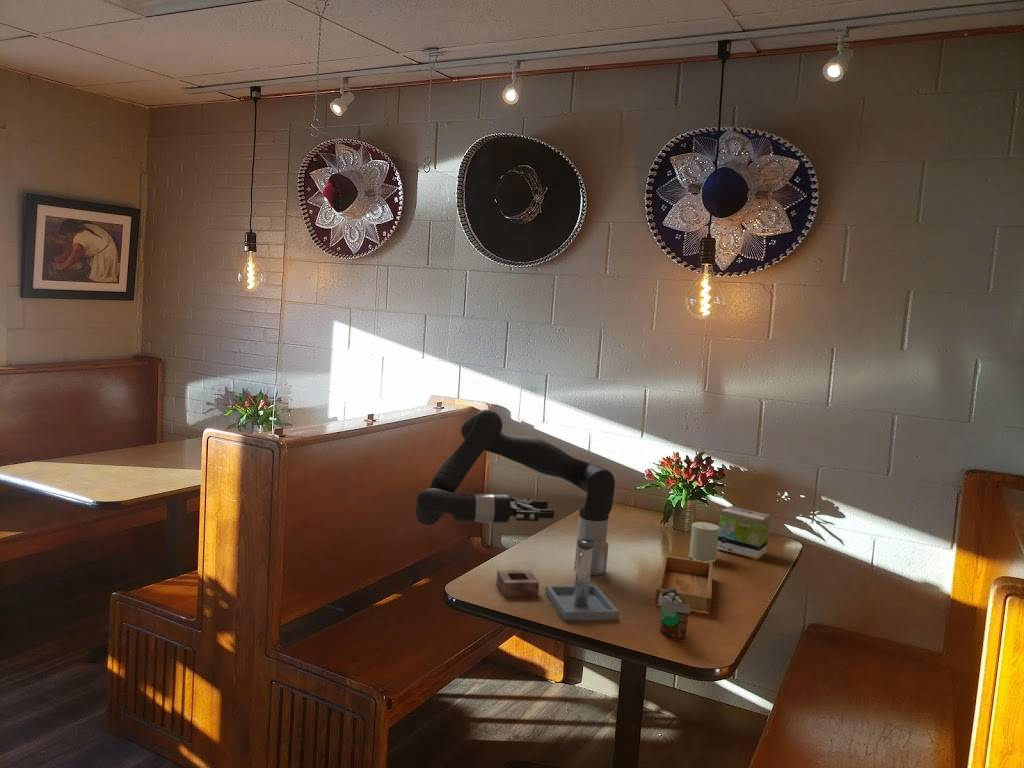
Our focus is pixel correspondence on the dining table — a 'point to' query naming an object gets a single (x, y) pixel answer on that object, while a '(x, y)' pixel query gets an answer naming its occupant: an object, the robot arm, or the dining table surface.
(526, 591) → the socket block
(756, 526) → the tea box
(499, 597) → the dining table surface
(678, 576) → the tray
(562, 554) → the dining table surface
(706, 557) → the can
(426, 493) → the robot arm
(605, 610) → the pin tray
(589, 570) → the steel pin
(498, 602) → the dining table surface
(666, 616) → the food container
